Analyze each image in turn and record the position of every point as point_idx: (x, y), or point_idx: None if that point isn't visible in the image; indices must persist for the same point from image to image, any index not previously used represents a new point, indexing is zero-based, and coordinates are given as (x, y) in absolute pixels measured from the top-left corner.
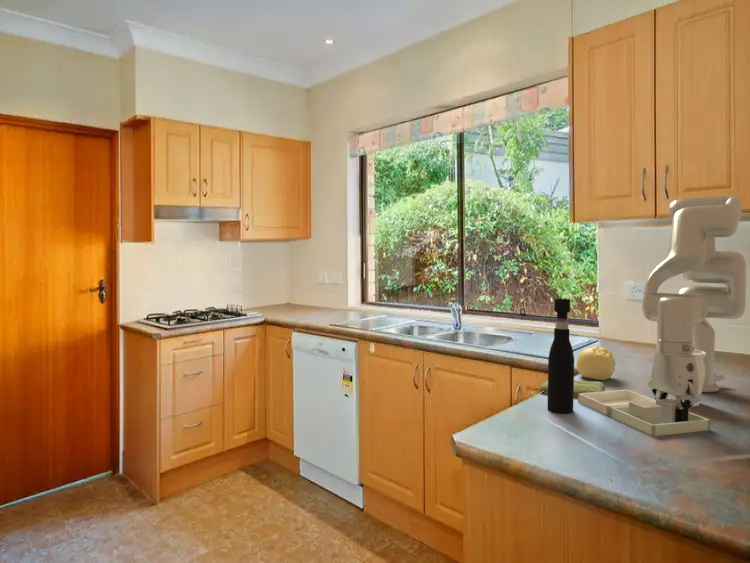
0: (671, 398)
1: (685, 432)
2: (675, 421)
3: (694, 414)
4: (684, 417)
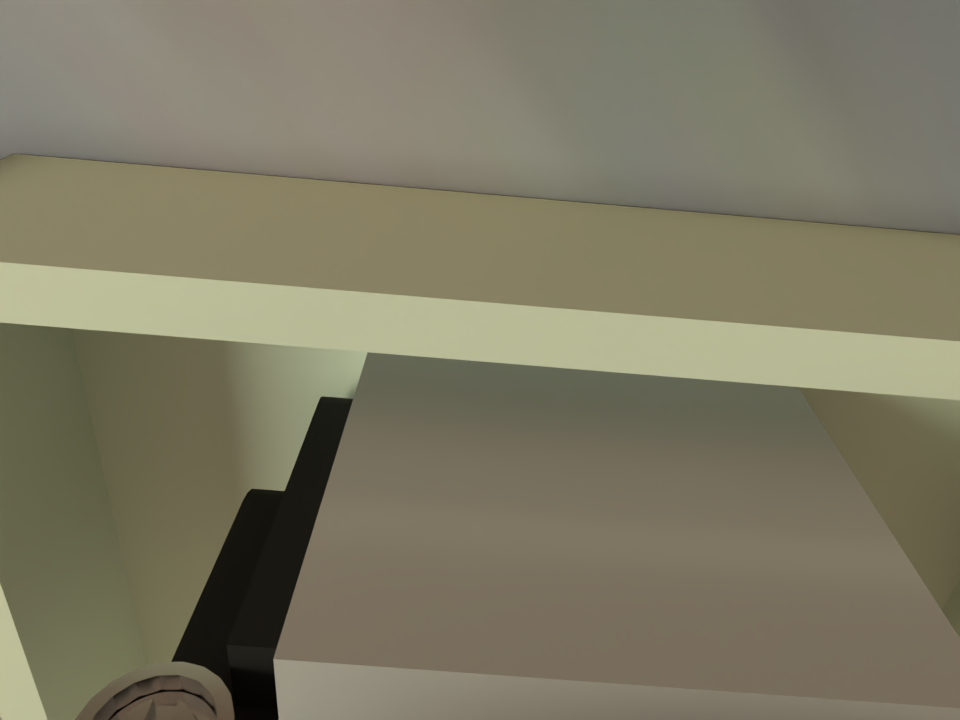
0: (304, 708)
1: None
2: None
3: (936, 361)
4: None
